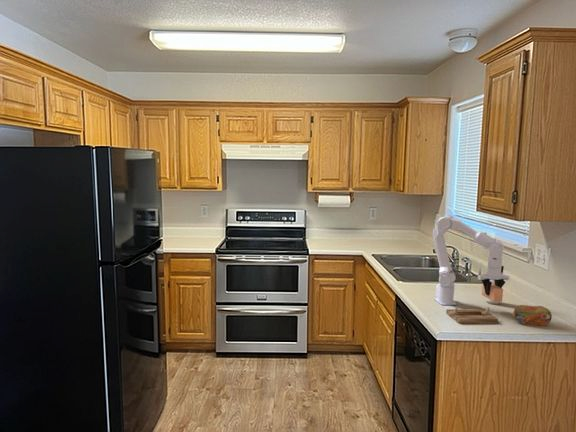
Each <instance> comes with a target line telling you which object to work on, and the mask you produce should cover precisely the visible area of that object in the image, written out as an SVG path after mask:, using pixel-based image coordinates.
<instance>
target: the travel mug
mask: <svg viewBox="0 0 576 432" xmlns="http://www.w3.org/2000/svg"><path fill="white" fill-rule="evenodd" d="M504 267H505V266H504V265H502V266H501V275H504ZM490 282H492V284H494V285H495V281H494V280H490ZM486 303H487V304H489V305H494V306H499V305H500V304H501V302H493V301H492V300H490V299H488V298H486Z"/></svg>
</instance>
